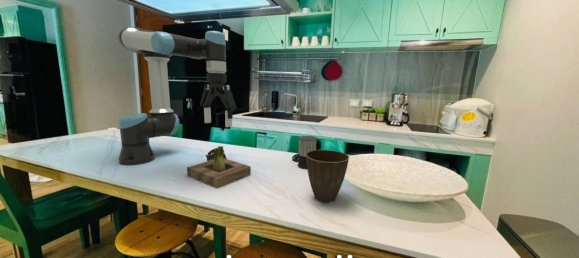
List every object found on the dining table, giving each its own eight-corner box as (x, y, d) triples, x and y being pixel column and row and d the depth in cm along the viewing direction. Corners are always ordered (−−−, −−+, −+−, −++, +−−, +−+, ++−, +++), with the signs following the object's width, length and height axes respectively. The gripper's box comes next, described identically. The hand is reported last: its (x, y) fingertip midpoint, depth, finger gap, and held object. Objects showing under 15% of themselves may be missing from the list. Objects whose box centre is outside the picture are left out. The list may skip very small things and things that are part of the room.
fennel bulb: (214, 176, 97) (213, 149, 95) (210, 172, 101) (209, 146, 99) (227, 173, 101) (227, 147, 98) (223, 170, 104) (222, 144, 102)
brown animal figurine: (226, 166, 114) (216, 153, 111) (210, 172, 116) (200, 160, 113) (232, 153, 125) (223, 141, 122) (217, 159, 127) (209, 147, 124)
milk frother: (310, 170, 110) (312, 140, 107) (282, 164, 118) (283, 136, 115) (322, 162, 122) (323, 135, 119) (296, 157, 130) (297, 131, 127)
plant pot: (295, 198, 82) (297, 155, 79) (318, 185, 94) (320, 147, 91) (332, 213, 73) (335, 165, 70) (352, 197, 84) (356, 155, 81)
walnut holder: (187, 175, 99) (186, 167, 99) (221, 165, 114) (221, 157, 113) (217, 188, 88) (216, 178, 87) (250, 174, 103) (250, 166, 102)
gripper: (190, 72, 97) (192, 122, 101) (230, 71, 83) (231, 129, 87) (205, 73, 103) (207, 120, 107) (245, 73, 89) (245, 127, 93)
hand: (217, 124), depth 97 cm, fingers open, 13 cm apart
